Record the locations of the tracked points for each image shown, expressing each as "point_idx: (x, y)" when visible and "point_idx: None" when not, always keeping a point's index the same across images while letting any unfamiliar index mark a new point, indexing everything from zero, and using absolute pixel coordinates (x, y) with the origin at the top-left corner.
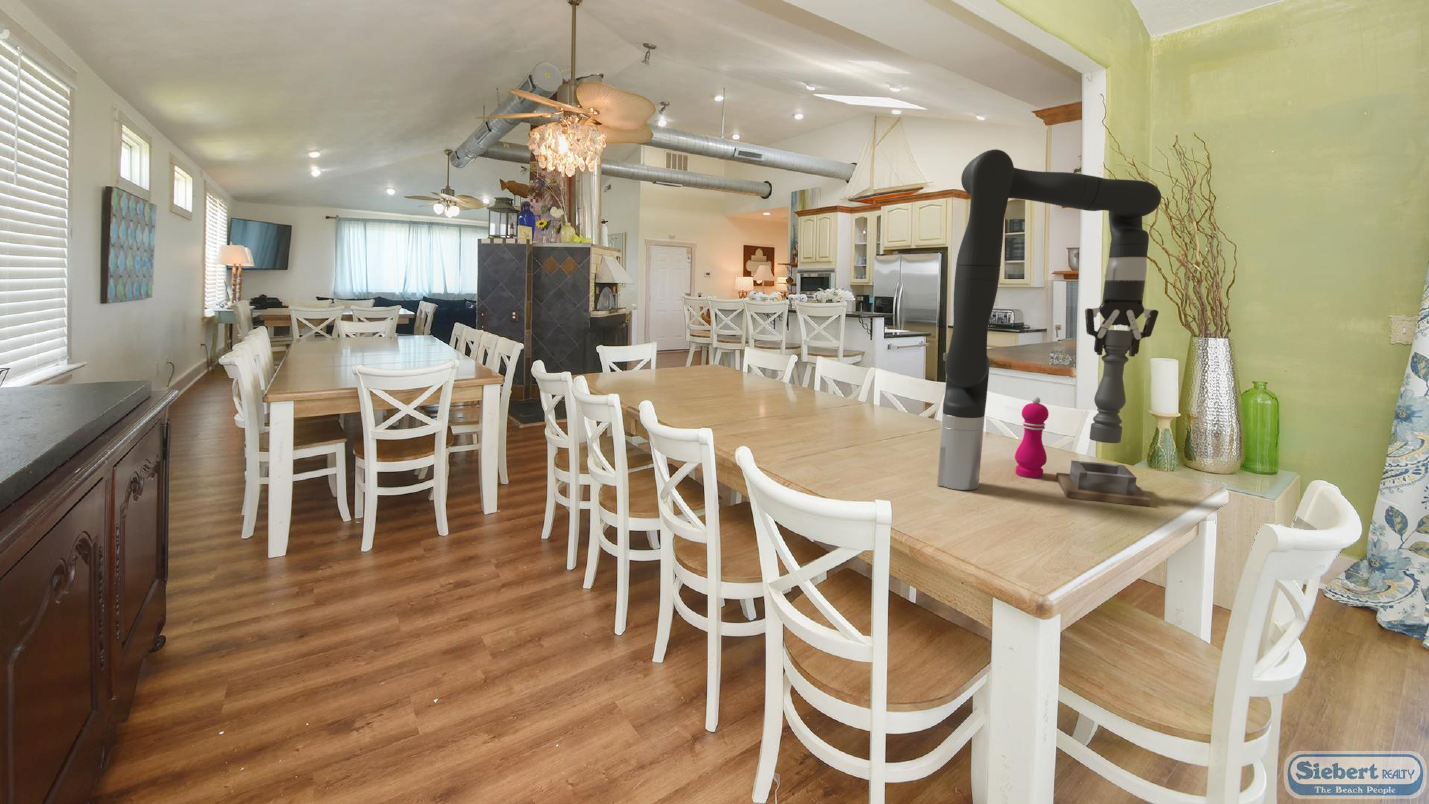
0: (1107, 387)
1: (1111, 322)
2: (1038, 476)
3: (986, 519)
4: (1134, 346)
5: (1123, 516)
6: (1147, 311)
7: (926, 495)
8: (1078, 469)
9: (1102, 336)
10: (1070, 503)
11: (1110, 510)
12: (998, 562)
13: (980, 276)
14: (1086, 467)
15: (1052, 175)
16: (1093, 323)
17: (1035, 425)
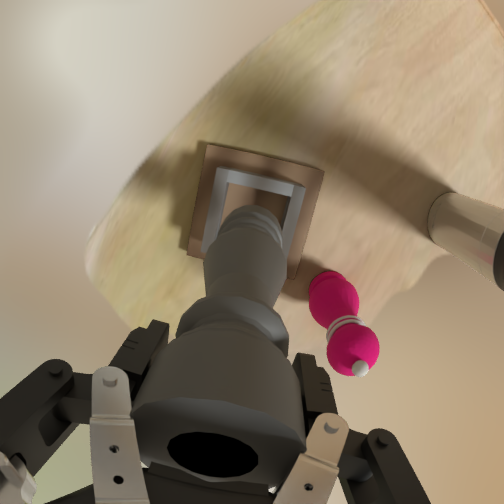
0: (268, 260)
1: (288, 494)
2: (322, 273)
3: (452, 79)
4: (143, 348)
5: (273, 92)
6: (2, 500)
7: (491, 170)
8: (299, 208)
9: (320, 420)
10: (328, 142)
11: (280, 116)
12: None
13: None
14: None
15: None
16: (393, 487)
17: (355, 320)
